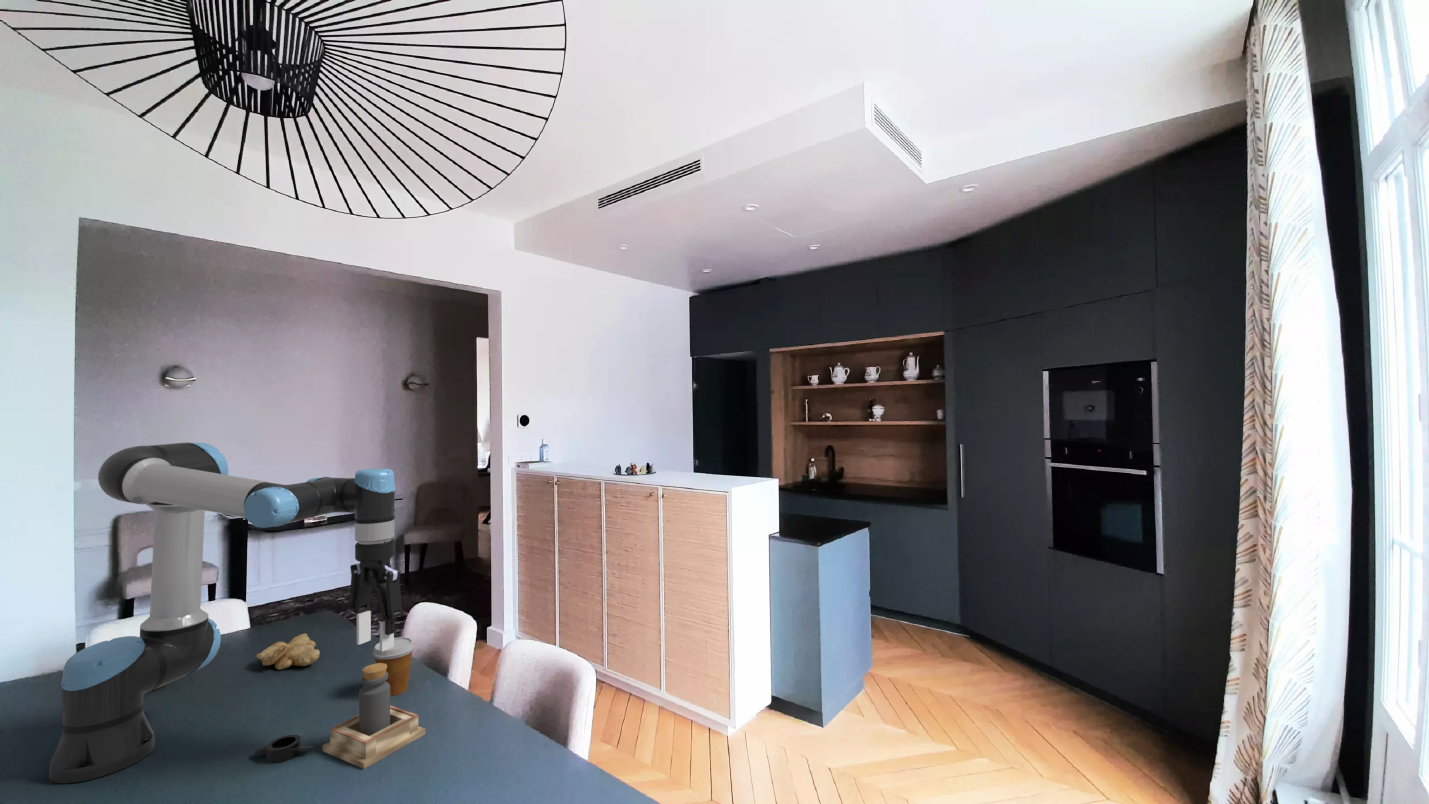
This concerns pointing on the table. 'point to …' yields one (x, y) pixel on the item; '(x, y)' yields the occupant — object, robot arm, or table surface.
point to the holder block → (373, 738)
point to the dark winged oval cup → (282, 749)
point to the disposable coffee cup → (396, 663)
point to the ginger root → (290, 653)
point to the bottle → (374, 700)
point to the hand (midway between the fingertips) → (375, 645)
